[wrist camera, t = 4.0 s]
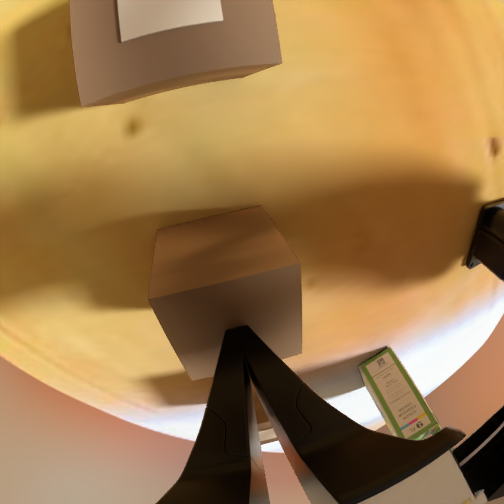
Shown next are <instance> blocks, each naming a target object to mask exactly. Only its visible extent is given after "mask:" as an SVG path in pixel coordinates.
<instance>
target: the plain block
mask: <svg viewBox="0 0 504 504" xmlns="http://www.w3.org/2000/svg"><path fill="white" fill-rule="evenodd" d="M148 300H149V302H150V304H151V306H152V309H153V311H154V313H155V315H156V317H157V319H158V321H159V323H160V324H161V326H162V328H163V330H164V332H165V334H166V336H167V338H168V340H169V341H170V343H171V345H172V347H173V349H174V351H175V352H176V354H177V356H178V358H179V359H180V361H181V363H182V365H183V366H184V368H185V370H186V372H187V373H188V375H189V377H190V378H191V380H192V381H194V380H199V379H204V378H209V377H214V373H215V369H216V365H217V361H218V357H219V353H220V349H221V345H222V341H223V337H224V333H225V331H226V330H227V329H231V328H236V329H237V327H239V326H243V325H248V326H249V327H250V328H251V329H252V330H253V331H254V332H255V333H256V334H257V335H258V336H259V337H260V338H261V339H262V340H263V341H264V342H265V343H266V345H267V346H268V347H269V348H270V349H271V350H272V351H273V352H274V353H275V354H276V355H277V356H278V357H279V358H280V359H285V358H288V357H291V356H295V355H298V354H301V353H302V293H301V262H300V261H299V259H298V258H297V256H296V255H295V253H294V252H293V250H292V249H291V247H290V246H289V245H288V243H287V242H286V240H285V239H284V237H283V236H282V234H281V233H280V231H279V230H278V228H277V227H276V225H275V224H274V223H273V221H272V220H271V218H270V217H269V215H268V214H267V212H266V211H265V210H264V208H263V207H262V205H261V206H256V207H252V208H247V209H243V210H238V211H234V212H229V213H225V214H220V215H216V216H212V217H208V218H203V219H199V220H195V221H191V222H187V223H183V224H179V225H175V226H171V227H167V228H163V229H159V230H157V236H156V242H155V248H154V255H153V262H152V270H151V278H150V286H149V295H148ZM237 332H238V331H237ZM238 336H239V335H238ZM241 347H242V346H241ZM244 358H245V357H244ZM246 365H247V364H246Z"/></svg>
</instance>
